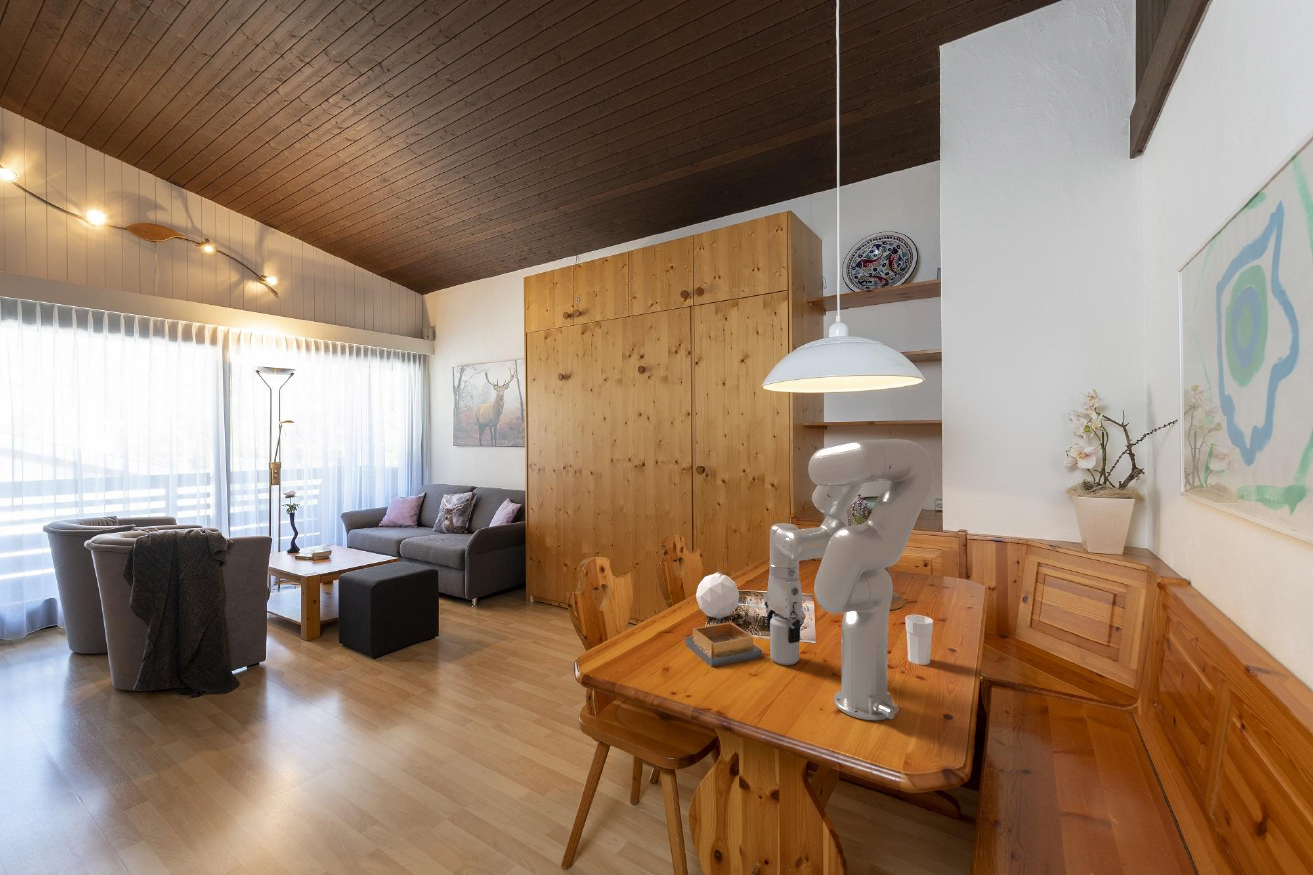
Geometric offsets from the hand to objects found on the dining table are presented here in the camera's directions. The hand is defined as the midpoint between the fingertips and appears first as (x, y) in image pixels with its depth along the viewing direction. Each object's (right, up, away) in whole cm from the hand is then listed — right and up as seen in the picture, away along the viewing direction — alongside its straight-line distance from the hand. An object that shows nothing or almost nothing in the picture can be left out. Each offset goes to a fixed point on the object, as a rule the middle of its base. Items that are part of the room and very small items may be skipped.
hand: (783, 634), depth 150 cm
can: (0, -7, 0) cm, 7 cm away
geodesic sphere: (-14, -6, +34) cm, 37 cm away
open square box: (-15, -7, +6) cm, 18 cm away
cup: (+35, -7, -1) cm, 36 cm away
